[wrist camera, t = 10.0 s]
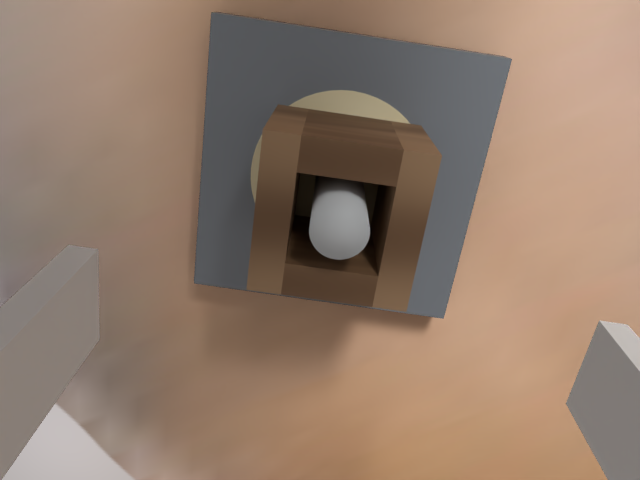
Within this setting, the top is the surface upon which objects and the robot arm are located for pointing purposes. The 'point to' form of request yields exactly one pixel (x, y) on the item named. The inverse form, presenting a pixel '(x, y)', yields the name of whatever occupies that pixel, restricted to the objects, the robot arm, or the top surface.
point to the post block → (345, 98)
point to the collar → (350, 164)
